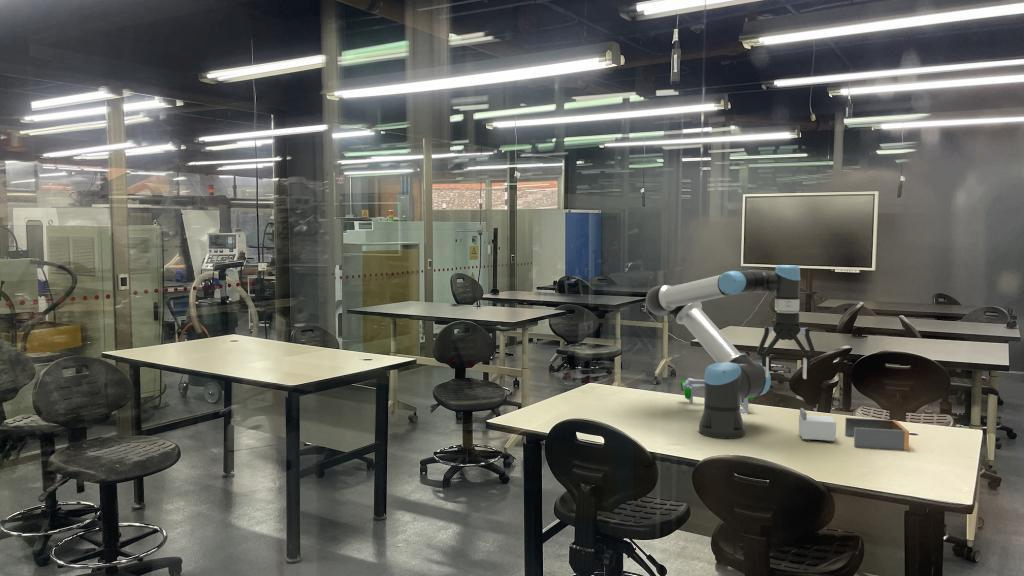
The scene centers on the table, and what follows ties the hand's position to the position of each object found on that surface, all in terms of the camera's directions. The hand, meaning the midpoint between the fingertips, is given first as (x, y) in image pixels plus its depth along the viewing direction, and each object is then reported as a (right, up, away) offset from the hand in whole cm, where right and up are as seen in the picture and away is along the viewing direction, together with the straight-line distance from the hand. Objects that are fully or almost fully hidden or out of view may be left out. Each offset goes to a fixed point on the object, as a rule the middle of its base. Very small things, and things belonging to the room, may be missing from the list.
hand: (785, 377), depth 226 cm
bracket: (-10, -18, +43) cm, 48 cm away
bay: (+26, -20, -6) cm, 34 cm away
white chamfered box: (+10, -20, -2) cm, 22 cm away
